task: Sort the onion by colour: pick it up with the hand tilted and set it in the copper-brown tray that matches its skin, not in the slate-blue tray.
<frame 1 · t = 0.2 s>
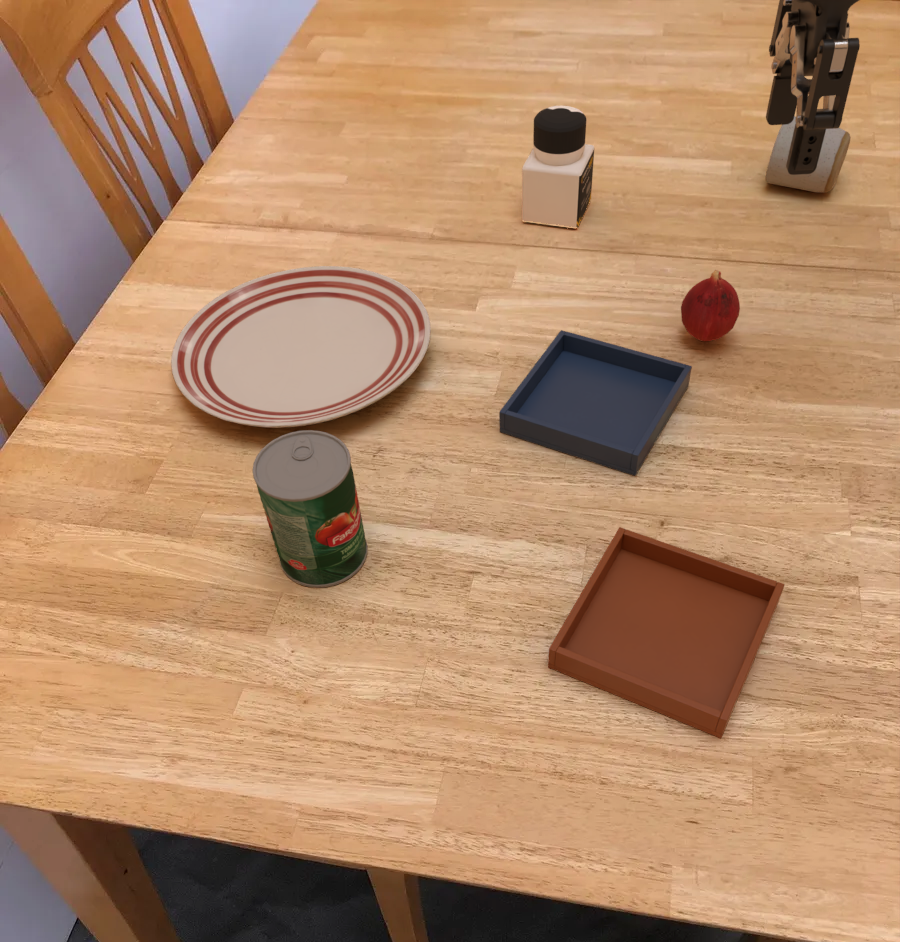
hand: (788, 146, 76), 23 cm above the table, tool pointing down, fingers open, 8 cm apart
copper tray: (664, 635, 75), on the table
onion: (704, 341, 98), on the table
canned tomato: (324, 555, 82), on the table
blue tray: (595, 409, 92), on the table
medicine bottle: (556, 213, 115), on the table
dinner plate: (306, 363, 99), on the table
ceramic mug: (800, 181, 117), on the table
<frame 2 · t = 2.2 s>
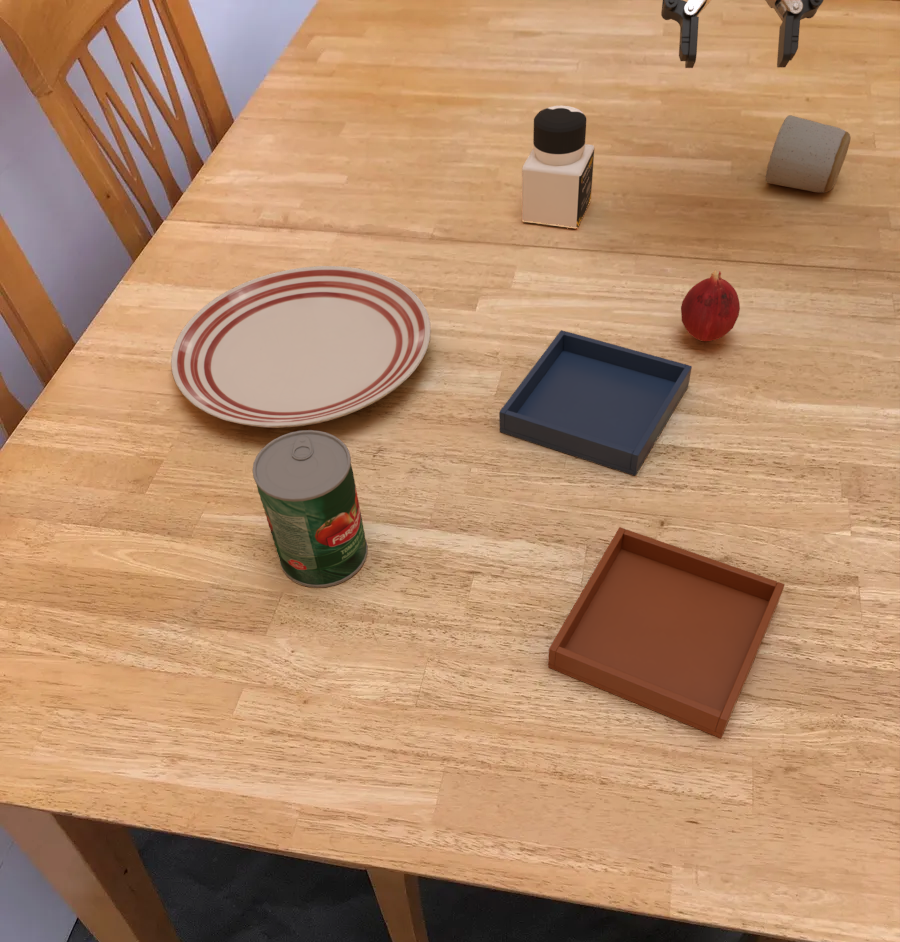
hand: (737, 64, 86), 23 cm above the table, tool tilted 45°, fingers open, 8 cm apart
nothing on the table moved.
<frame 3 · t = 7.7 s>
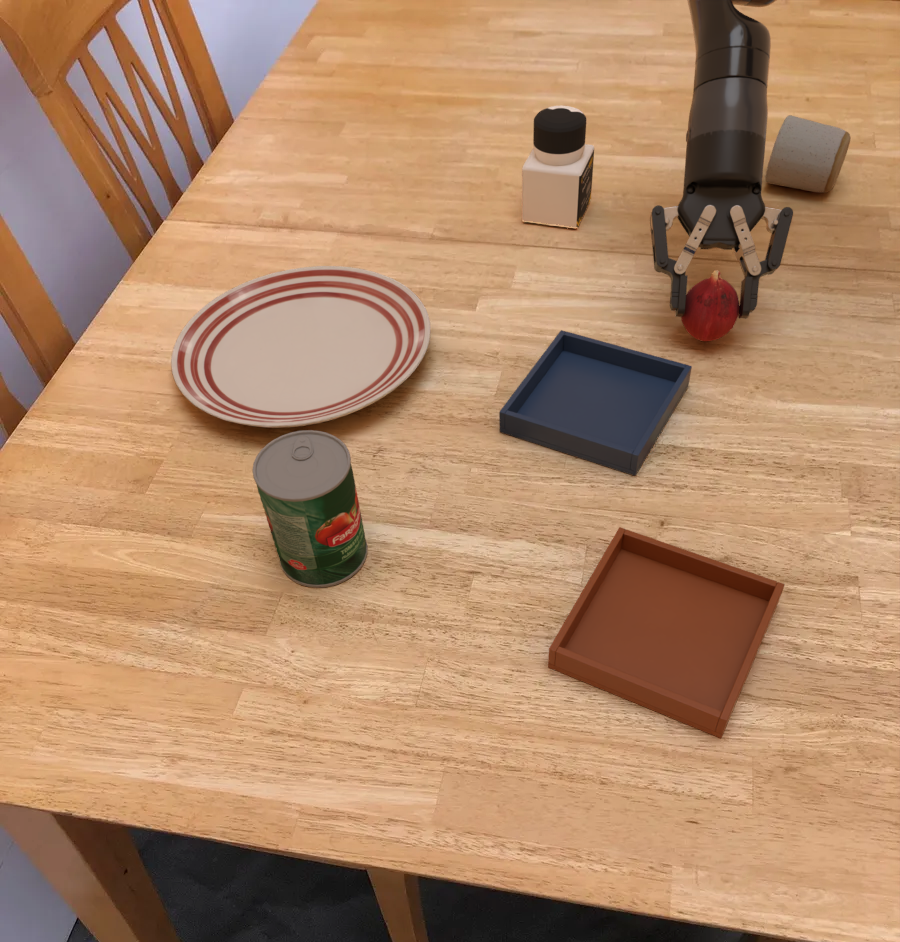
hand: (712, 315, 93), 4 cm above the table, tool tilted 45°, fingers closed on onion, 5 cm apart
onion: (704, 341, 98), on the table, touching gripper
everything else where it was.
when the fingers open (5 cm above the table, at t = 18.8 s): onion stays where it is, resting on copper tray.
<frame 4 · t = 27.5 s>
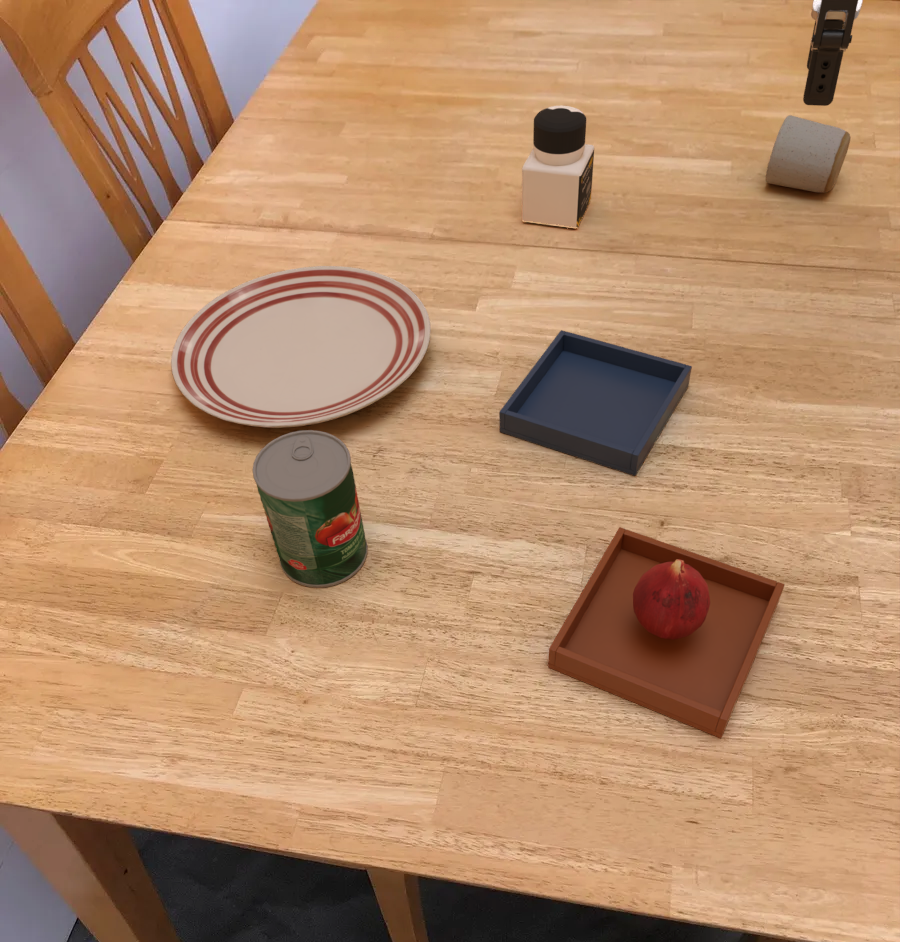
hand: (818, 86, 75), 27 cm above the table, tool pointing down, fingers open, 8 cm apart
onion: (664, 630, 75), resting on copper tray
everything else where it was.
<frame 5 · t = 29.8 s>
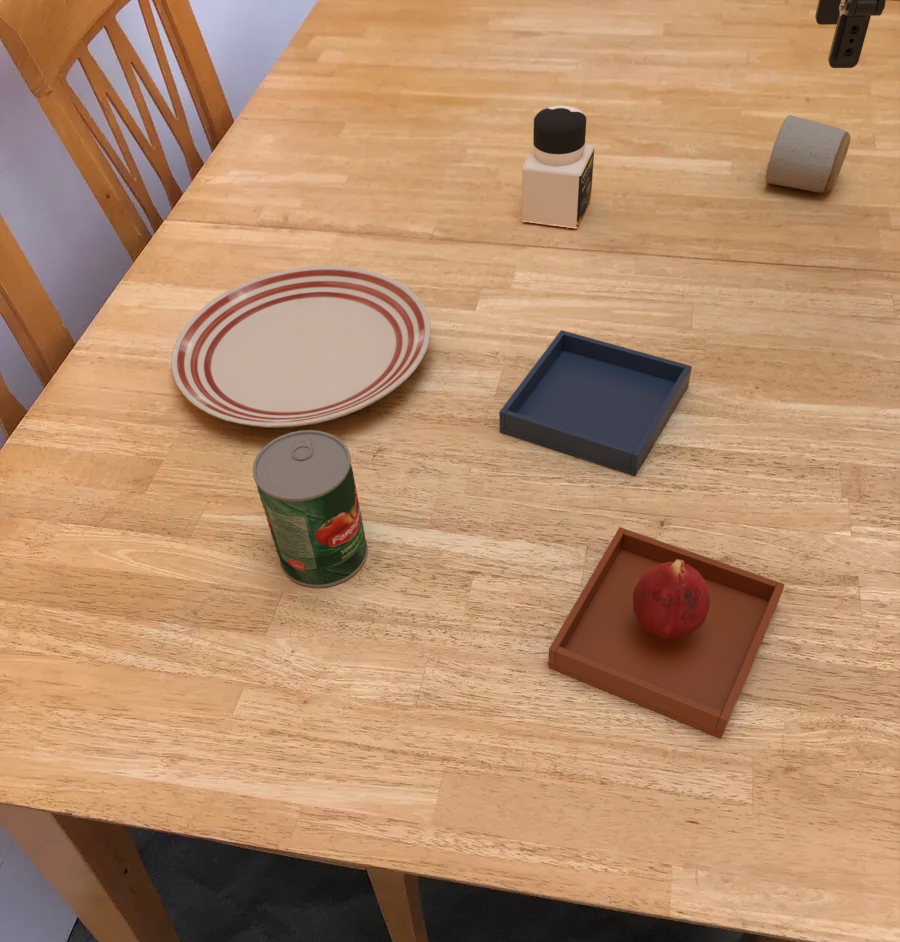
hand: (834, 43, 76), 28 cm above the table, tool pointing down, fingers open, 8 cm apart
nothing on the table moved.
at the end: onion inside the target area in the copper tray (0.1 cm from its centre), point 0.4 cm above the copper tray's base; the gripper is holding nothing; blue tray tilted 0° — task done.
